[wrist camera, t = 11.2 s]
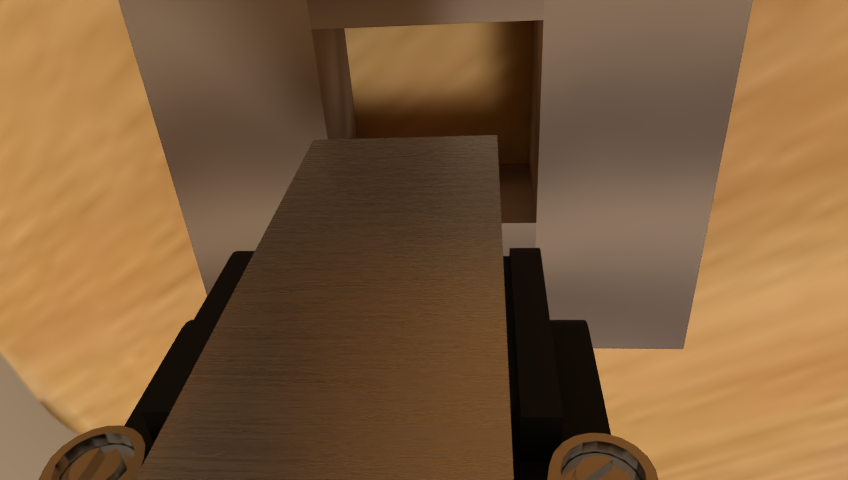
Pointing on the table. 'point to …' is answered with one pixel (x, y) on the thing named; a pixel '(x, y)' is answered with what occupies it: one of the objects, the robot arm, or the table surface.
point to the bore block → (519, 183)
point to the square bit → (360, 328)
